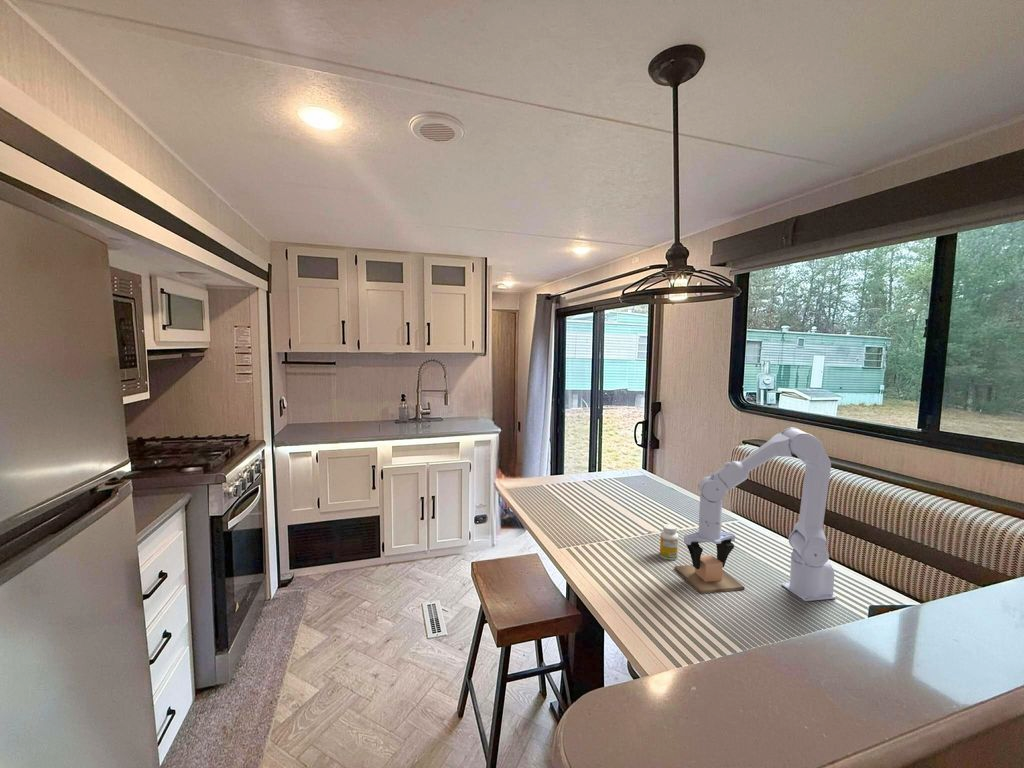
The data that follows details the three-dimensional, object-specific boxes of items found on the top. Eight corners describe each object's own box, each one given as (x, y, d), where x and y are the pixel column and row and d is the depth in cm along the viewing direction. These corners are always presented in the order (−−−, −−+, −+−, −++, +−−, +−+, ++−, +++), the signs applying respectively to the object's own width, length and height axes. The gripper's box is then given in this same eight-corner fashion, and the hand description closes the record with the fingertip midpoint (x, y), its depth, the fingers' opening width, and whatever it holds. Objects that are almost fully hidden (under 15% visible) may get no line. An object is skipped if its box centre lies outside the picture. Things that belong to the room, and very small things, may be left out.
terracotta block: (710, 571, 121) (711, 554, 121) (721, 580, 116) (722, 563, 116) (695, 572, 120) (695, 555, 120) (705, 581, 115) (706, 564, 115)
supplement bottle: (663, 550, 135) (664, 521, 135) (680, 555, 132) (681, 526, 131) (657, 556, 131) (658, 526, 130) (674, 562, 128) (675, 531, 127)
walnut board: (714, 565, 126) (714, 563, 126) (744, 589, 113) (744, 586, 113) (674, 568, 124) (674, 566, 124) (700, 593, 111) (700, 590, 111)
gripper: (694, 527, 112) (693, 575, 113) (743, 524, 114) (741, 571, 115) (680, 517, 119) (678, 563, 120) (726, 514, 121) (724, 559, 122)
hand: (708, 566), depth 118 cm, fingers open, 7 cm apart
